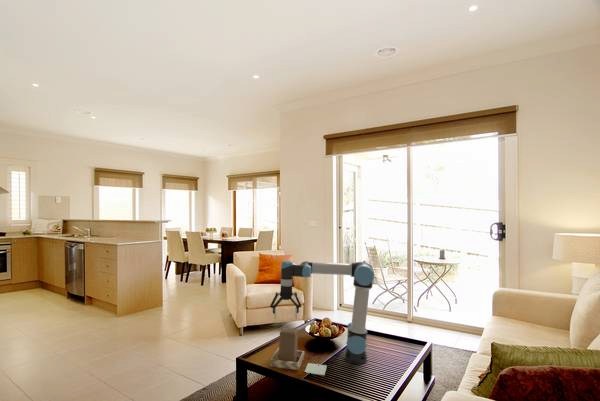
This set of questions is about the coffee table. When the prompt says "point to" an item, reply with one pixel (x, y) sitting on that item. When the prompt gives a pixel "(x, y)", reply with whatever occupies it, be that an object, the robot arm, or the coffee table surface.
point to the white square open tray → (287, 363)
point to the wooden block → (288, 344)
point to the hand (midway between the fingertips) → (285, 318)
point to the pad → (315, 369)
